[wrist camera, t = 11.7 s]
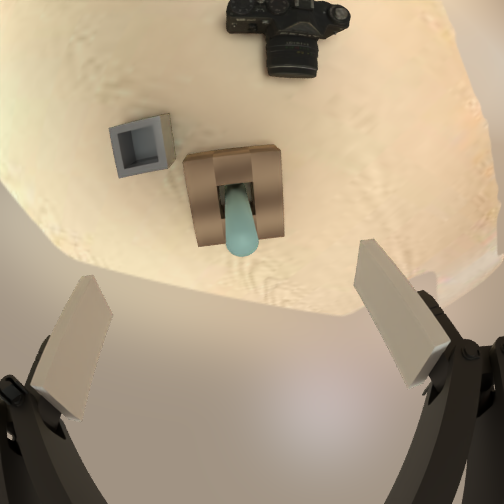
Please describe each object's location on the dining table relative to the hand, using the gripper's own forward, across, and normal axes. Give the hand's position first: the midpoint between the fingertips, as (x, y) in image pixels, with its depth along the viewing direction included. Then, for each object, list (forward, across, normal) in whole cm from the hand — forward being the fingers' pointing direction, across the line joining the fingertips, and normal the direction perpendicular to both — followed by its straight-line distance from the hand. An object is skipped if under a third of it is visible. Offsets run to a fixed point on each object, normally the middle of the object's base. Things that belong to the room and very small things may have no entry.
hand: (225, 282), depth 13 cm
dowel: (+28, +1, -6) cm, 28 cm away
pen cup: (+28, -10, +4) cm, 30 cm away
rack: (+28, +1, -6) cm, 28 cm away
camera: (+29, +9, +15) cm, 34 cm away
